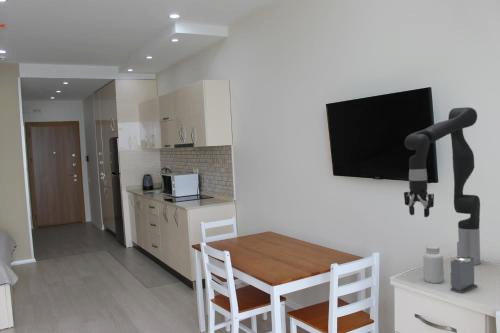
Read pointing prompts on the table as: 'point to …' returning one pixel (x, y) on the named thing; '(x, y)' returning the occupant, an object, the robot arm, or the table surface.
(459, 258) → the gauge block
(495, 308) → the table surface
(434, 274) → the pill bottle
